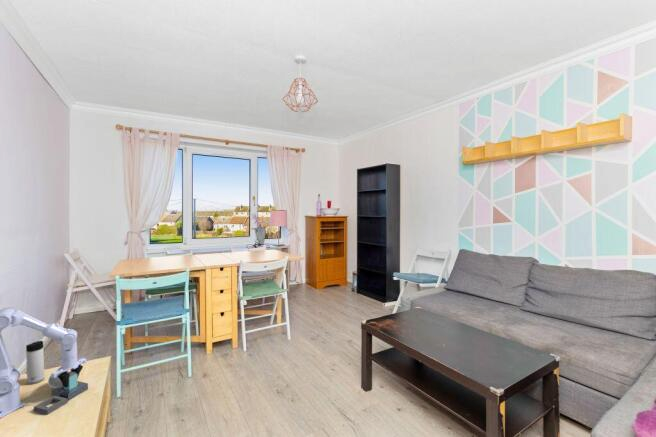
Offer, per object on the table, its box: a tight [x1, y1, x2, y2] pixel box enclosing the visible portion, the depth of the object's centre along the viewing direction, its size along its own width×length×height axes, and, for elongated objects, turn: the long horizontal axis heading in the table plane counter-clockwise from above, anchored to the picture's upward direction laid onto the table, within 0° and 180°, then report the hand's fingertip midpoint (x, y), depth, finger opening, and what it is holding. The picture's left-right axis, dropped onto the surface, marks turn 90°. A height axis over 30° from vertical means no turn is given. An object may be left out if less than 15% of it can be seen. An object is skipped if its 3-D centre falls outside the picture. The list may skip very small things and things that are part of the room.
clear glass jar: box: [47, 370, 69, 389], centre depth 149 cm, size 8×8×10 cm
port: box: [51, 380, 89, 402], centre depth 145 cm, size 9×10×3 cm
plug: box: [64, 370, 78, 391], centre depth 145 cm, size 4×4×9 cm
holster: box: [33, 395, 69, 415], centre depth 136 cm, size 8×8×2 cm
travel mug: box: [25, 340, 45, 385], centre depth 153 cm, size 6×7×20 cm
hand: (70, 384), depth 145 cm, fingers closed on plug, 3 cm apart
